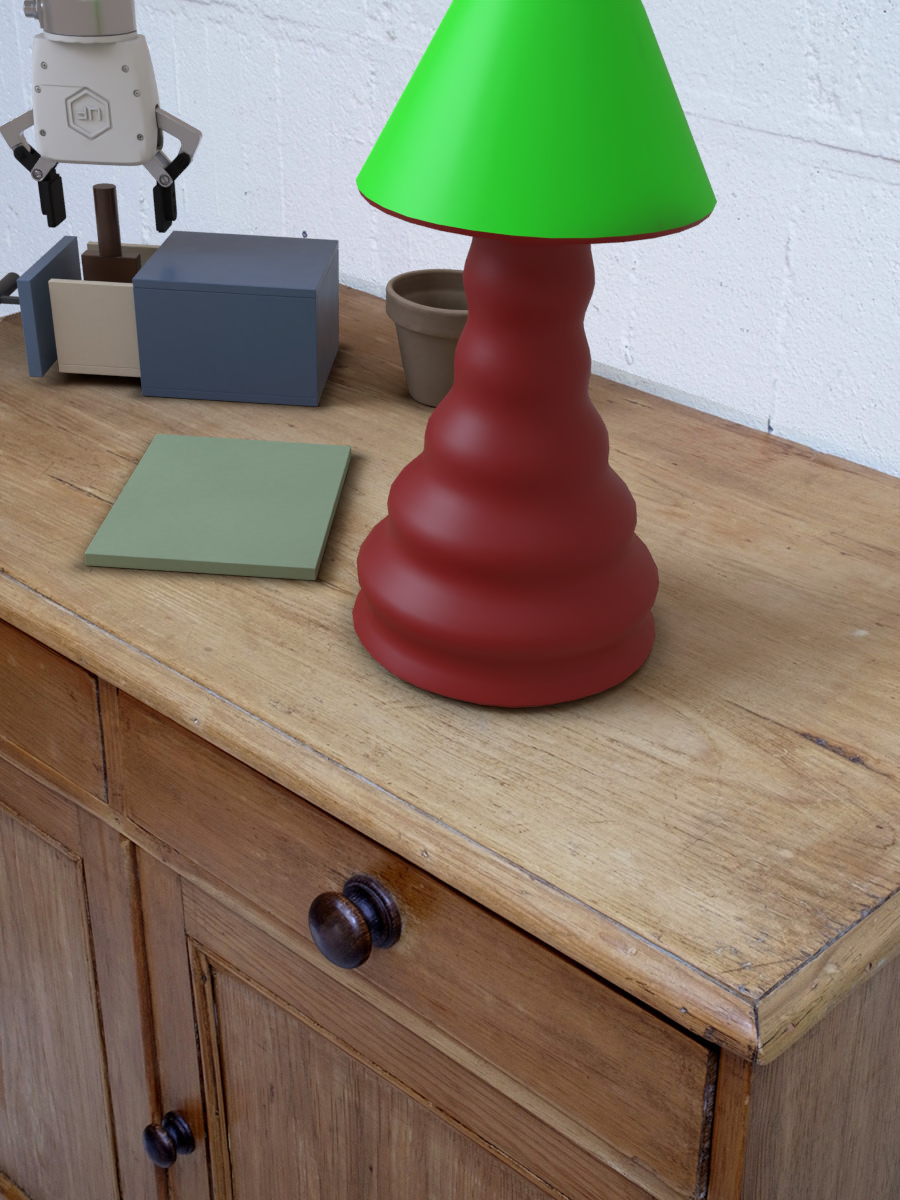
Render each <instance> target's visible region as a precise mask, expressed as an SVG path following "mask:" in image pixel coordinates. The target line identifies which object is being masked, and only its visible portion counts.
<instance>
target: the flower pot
mask: <svg viewBox="0 0 900 1200" xmlns="http://www.w3.org/2000/svg"><path fill="white" fill-rule="evenodd" d="M463 271H464V269H454V268H453V269H452V268H427V269H426V268H425V269H416V270H411V271H406V272H404V273H400V274H398V275H395V276H393V277H391V279H389V280H388V282H387V283H386V286H385V313H386V315H387V317H388V318H389V319H390V320H391V321H392V322H393V323H394V326H395V327H394V328H395V331H396V337H397V342H398V347H399V348H398V349H399V354H400V359H401V363H402V369H403V372H404V377H405V381H406V386H407V389H408V393H409V395H410V396H411V398H413V399H414V400H415V401H417V402H419V403H421V404H423V405H426V406H430V407H432V408H433V407H434V408H436V407H437V406H438V404H439V403H440V402H441V401H442V400H443V399H444V397H445V396H446V395H447V394H448V393H449V391H450V390H451V388H452V386H453V383H454V357H455V350H456V347H457V344H458V340H459V338H460V336H461V334H462V331H463V329H464V327H465V324H466V322H467V318H468V304H467V299H466V294H465V290H464V285H463Z"/></svg>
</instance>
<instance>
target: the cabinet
mask: <svg viewBox="0 0 900 1200" xmlns="http://www.w3.org/2000/svg"><path fill="white" fill-rule="evenodd" d="M160 245H161V246H160V247H159V248H158V249H157V250H156V252H155V253H154V254H153V255H152V256H151V258H150V259H149V260H148V261H147V262H146V263H145V265H144V266H143V267H142V268H141V269H140V270H139V272H138V273H137V274H136V275H135V276H134V278H133V279H132V282H133V287H134V288H133V294H134V306H135V317H136V329H137V340H138V352H139V363H140V375H141V377H140V384H141V385H140V387H141V395H142V396H143V397H154V398H155V397H156V398H158V397H159V398H172V399H173V398H174V399H189V400H205V401H220V402H221V401H223V402H237V403H251V404H252V403H253V404H255V403H256V404H269V405H284V406H285V405H286V406H300V407H301V406H302V407H318V406H319V404H320V400H321V398H322V395H323V392H324V389H325V387H326V384H327V382H328V379H329V376H330V373H331V370H332V367H333V365H334V362H335V360H336V357H337V354H338V352H339V348H340V257H339V256H340V249H339V248H340V241H339V240H338V239H324V238H311V237H310V238H307V237H294V236H293V237H291V236H290V237H289V236H274V235H257V234H242V233H241V234H240V233H224V232H206V231H205V232H204V231H189V230H188V231H187V230H172V232H170V234H169V235H168V236H167V238H165V240H164V241H163V242H162V243H161V244H160Z"/></svg>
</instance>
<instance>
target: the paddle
mask: <svg viewBox="0 0 900 1200" xmlns="http://www.w3.org/2000/svg"><path fill="white" fill-rule="evenodd" d="M117 191H118V190H117V186H116V184H114V183H107V182H106V183H105V182H102V183H96V184H93V185H92V193H93V194H92V195H93V205H94V215H95V225H96V234H97V235H96V236H97V242H98V246H99V251H97V250H87V249H85V250H84V251H83V252H82V253H81V254H80V259H81V268H82V269H81V271H82V280H83V281H100V282H117V283H133V282H132V279H133V278H134V276H135V275H136V274H137V273H138V272H139V270H140V269H141V256H140V253H131V252H122V247H121V243H122V238H121V237H122V235H121V225H120V215H119V204H118V202H119V201H118V193H117Z"/></svg>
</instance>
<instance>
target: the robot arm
mask: <svg viewBox="0 0 900 1200" xmlns="http://www.w3.org/2000/svg"><path fill="white" fill-rule="evenodd" d="M22 7H23V13H24V16H25V17H26V18H30V19H31V18H32V19H35V21H36V20H38V23H39V27H40V29H42V31H43V32H40V33H37V34H35V35H34V36H33V40H32V53H31V55H32V56H31V95H32V96H31V97H32V107H31V108H29V109H27V110H25V111H24V112H22V113H20V114H18V115H16V116H14V117H13V118H11V119H9V120H7V121H5V122H4V123H2V124H1V125H0V134H1V136H2V138H3V139H4V141H5V142H6V144H7V146H8V147H9V149H11V151H12V153H13V157H14V159H16V161H18V162H19V163H20V164H21V165H22V167H24V168H25V169H26V170H27V171H28V172H29V173H30V176H31V178H32V179H33V180H34V181H36V183H37V187H38V188H37V189H38V196H39V203H40V204H39V205H40V211H41V215H43V216H46V222H47V227H48V228H51V229H56V228H57V227H58V226H60V224H62V223H63V222H64V221H65V220H66V219H67V209H66V202H65V193H64V186H63V185H64V184H63V177H62V176H61V174H60V173H57V167H58V166H59V165H60V164H69V165H70V164H72V165H90V166H91V165H93V166H117V167H137V166H143V167H144V169H146V170H147V172H148V173H149V174H150V175H151V176H152V177H153V178H154V179H155V183H156V184H155V185H154V186H153V188H152V200H153V211H154V221H155V231H156V232H158V233H159V234H165V233H167V231H168V230H169V229H170V228H171V226H173V222H175V221H176V220H177V218H178V206H177V193H176V180H177V179H178V178H179V177H180V176H181V175H182V174H183V173H184V171H186V170H187V168H188V167H189V166H191V164H192V162H193V161H194V158H195V155H196V154H197V151H198V149H199V147H200V144H201V142H202V140H203V138H204V137H203V136H204V135H203V133H202V131H201V130H200V129H198V128H196V127H195V126H193V125H191V124H190V123H188V122H185V121H184V120H182V119H180V118H179V117H177V116H175V115H173V114H172V113H170V112H168V111H166V110H165V109H163V108H162V107H161V102H160V96H159V90H158V85H157V80H156V75H155V70H154V66H153V61H152V57H151V53H150V49H149V46H148V42H147V40H146V36H145V35H144V34H142V33H138V27H137V26H138V25H137V14H136V4H135V0H24V1H23V6H22ZM31 127H34V138H35V144H36V149H37V150H36V149H35V148H34V147H33V146H32V145H31V144H29V142H28V141H27V138H26V136H25V133H24V132H25V131H26V130H27V129H30V128H31ZM164 132H165V133H167V134H168V135H171V136H172V137H174V138H176V139H178V140H179V142H180V148H179V150H178V153H177V155H176V157H174V159H173V160H171V159H170V158H169V157H168V156H167V154H166V153H164V151H163V149H164V140H165V139H164V137H165V136H164Z"/></svg>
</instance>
